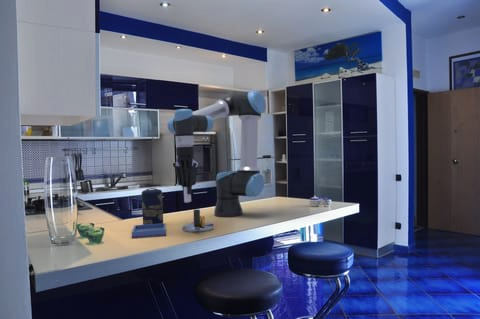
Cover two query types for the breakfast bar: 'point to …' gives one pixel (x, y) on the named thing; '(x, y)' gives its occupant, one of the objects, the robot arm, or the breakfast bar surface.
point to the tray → (149, 230)
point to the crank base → (192, 229)
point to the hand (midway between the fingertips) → (187, 201)
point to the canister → (152, 206)
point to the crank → (197, 219)
